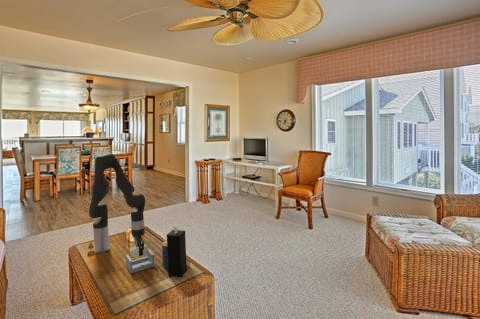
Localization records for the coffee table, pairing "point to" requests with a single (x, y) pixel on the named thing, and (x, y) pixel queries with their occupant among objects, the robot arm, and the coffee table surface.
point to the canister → (165, 255)
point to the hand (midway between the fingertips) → (139, 253)
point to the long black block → (176, 253)
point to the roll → (135, 251)
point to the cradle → (140, 262)
